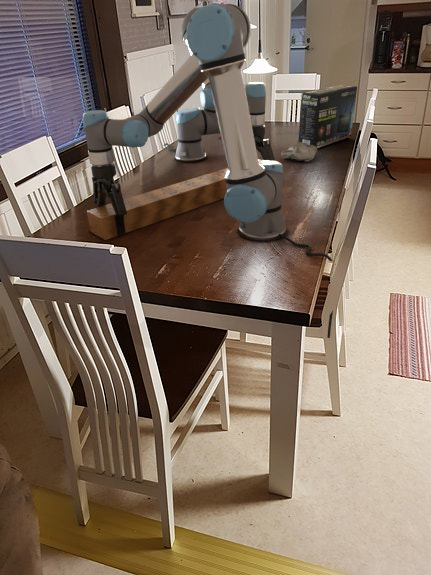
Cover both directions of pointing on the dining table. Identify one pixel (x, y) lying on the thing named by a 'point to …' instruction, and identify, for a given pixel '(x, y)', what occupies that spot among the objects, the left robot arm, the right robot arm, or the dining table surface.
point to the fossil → (300, 152)
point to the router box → (326, 114)
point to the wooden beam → (159, 204)
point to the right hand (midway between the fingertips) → (113, 229)
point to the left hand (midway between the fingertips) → (255, 177)
